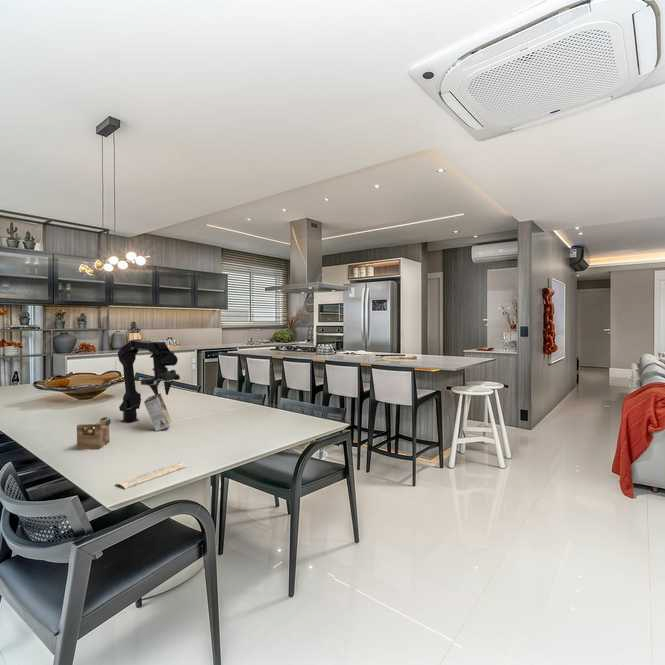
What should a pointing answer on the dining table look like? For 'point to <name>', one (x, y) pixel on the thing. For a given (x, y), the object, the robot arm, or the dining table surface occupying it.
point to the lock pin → (104, 421)
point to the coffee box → (158, 412)
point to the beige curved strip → (152, 475)
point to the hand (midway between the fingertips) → (162, 395)
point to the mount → (92, 436)
